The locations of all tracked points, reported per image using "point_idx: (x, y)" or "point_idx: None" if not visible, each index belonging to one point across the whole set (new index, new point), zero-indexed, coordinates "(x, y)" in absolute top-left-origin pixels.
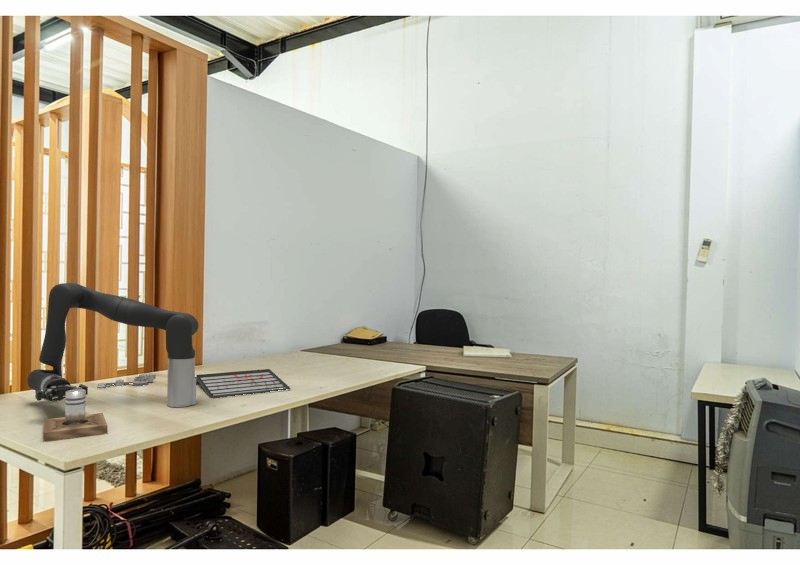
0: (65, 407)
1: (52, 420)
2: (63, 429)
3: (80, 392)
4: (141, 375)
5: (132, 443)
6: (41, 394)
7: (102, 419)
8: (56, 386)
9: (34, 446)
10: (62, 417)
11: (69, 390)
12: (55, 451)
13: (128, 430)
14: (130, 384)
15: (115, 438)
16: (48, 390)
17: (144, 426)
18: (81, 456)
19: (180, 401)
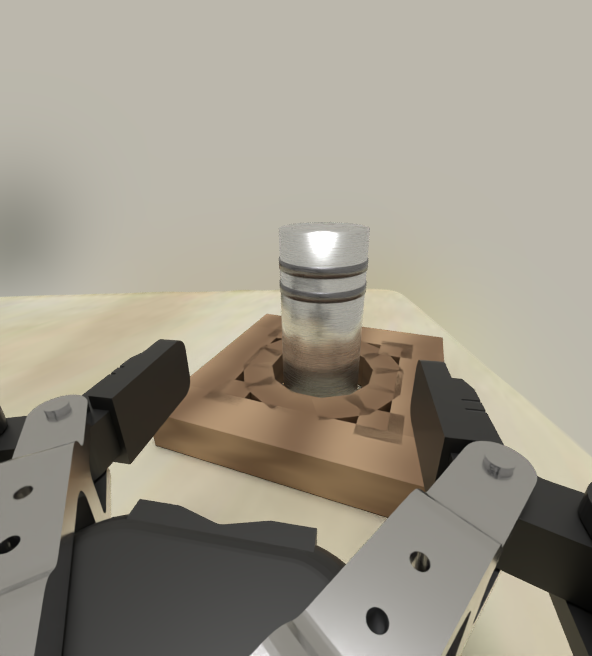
0: (363, 307)
1: (401, 438)
2: (381, 334)
3: (316, 223)
4: None
5: (274, 292)
6: (567, 490)
7: (234, 347)
8: (273, 632)
9: (461, 350)
10: (338, 459)
11: (343, 233)
12: (411, 315)
13: (216, 331)
14: None
15: (278, 313)
16: (477, 530)
17: (165, 333)
18: (372, 291)
19: None
